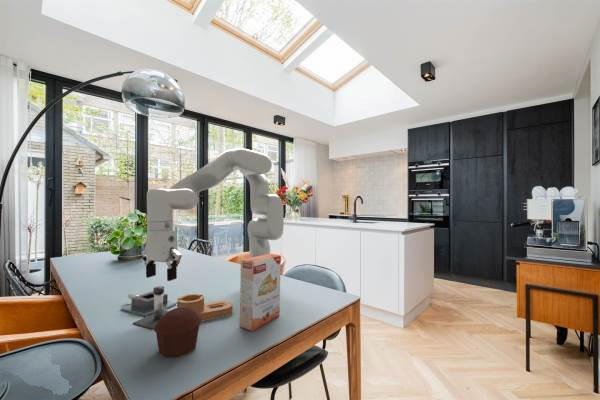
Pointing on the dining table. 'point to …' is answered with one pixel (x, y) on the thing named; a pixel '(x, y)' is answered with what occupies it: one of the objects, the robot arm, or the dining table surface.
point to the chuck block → (145, 304)
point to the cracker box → (259, 290)
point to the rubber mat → (148, 321)
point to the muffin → (177, 332)
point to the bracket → (205, 306)
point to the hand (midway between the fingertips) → (161, 278)
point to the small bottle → (158, 302)
